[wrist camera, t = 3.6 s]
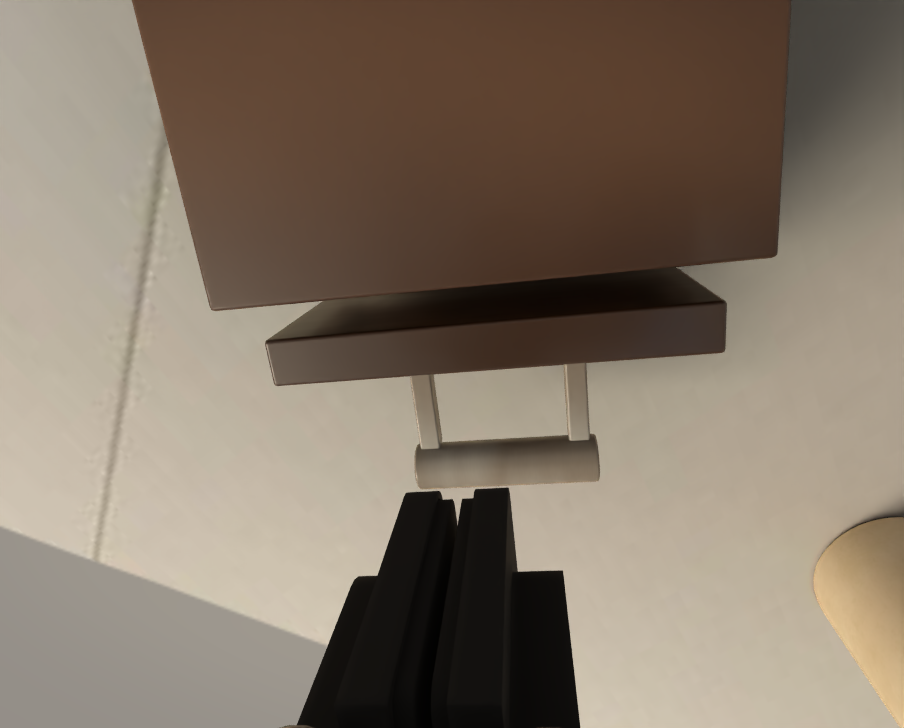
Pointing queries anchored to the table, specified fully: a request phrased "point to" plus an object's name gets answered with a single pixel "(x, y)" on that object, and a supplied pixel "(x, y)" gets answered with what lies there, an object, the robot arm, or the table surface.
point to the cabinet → (467, 139)
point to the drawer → (502, 356)
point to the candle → (869, 603)
